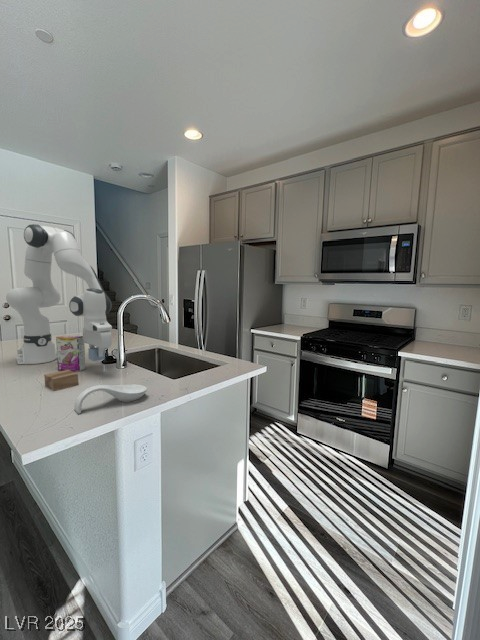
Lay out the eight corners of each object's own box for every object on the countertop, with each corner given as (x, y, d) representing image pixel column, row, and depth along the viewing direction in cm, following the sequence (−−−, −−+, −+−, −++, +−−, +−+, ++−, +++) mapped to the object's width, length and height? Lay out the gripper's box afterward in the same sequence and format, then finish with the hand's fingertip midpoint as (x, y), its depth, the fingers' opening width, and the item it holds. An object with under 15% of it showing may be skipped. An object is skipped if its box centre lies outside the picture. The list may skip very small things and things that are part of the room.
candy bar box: (57, 370, 139) (55, 336, 137) (64, 367, 144) (62, 334, 142) (79, 371, 138) (77, 337, 136) (86, 368, 143) (84, 335, 141)
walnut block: (45, 386, 119) (44, 374, 118) (69, 381, 126) (68, 369, 125) (54, 391, 113) (53, 379, 113) (78, 385, 120) (77, 373, 120)
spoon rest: (138, 390, 115) (137, 372, 114) (153, 399, 107) (152, 380, 106) (71, 407, 99) (69, 387, 98) (82, 419, 90) (80, 396, 90)
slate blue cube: (88, 359, 134) (88, 348, 133) (99, 357, 138) (99, 346, 137) (94, 361, 131) (93, 350, 130) (105, 359, 135) (104, 348, 134)
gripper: (78, 323, 136) (79, 352, 138) (99, 328, 124) (100, 360, 126) (92, 322, 141) (92, 350, 143) (114, 327, 129) (114, 357, 130)
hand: (96, 355), depth 134 cm, fingers closed on slate blue cube, 5 cm apart
